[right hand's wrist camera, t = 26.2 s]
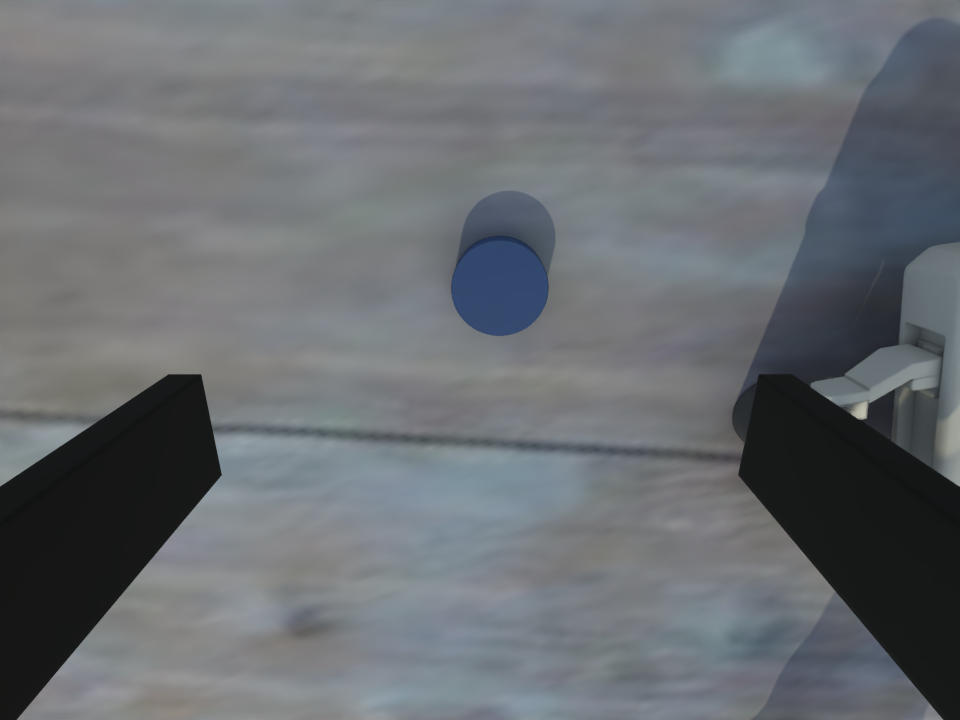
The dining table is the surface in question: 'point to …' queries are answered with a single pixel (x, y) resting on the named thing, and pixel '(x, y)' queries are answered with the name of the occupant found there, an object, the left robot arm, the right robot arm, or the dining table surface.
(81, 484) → the right robot arm
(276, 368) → the dining table surface
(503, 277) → the lid
